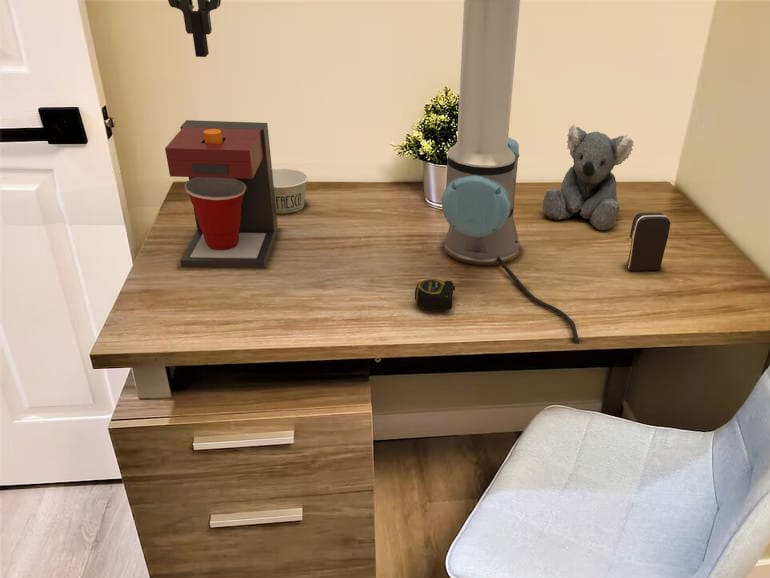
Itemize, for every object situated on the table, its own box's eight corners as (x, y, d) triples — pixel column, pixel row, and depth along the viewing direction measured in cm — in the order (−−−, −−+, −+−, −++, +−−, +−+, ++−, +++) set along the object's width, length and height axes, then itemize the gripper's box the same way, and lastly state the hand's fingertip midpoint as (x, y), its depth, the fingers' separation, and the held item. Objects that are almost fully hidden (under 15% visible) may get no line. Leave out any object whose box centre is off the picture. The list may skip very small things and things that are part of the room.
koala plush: (537, 218, 165) (546, 131, 155) (561, 194, 180) (571, 112, 169) (612, 234, 160) (627, 145, 150) (630, 208, 174) (645, 125, 164)
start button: (221, 148, 129) (219, 134, 128) (203, 147, 129) (201, 133, 127) (224, 143, 131) (222, 129, 130) (207, 142, 131) (205, 128, 130)
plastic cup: (240, 259, 136) (232, 197, 130) (184, 253, 137) (173, 191, 130) (261, 236, 145) (254, 177, 139) (208, 230, 146) (199, 171, 139)
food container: (290, 191, 170) (288, 164, 167) (321, 207, 164) (319, 179, 160) (244, 203, 163) (240, 175, 159) (274, 220, 156) (271, 190, 153)
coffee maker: (264, 268, 137) (251, 152, 125) (181, 267, 136) (160, 149, 124) (278, 229, 152) (267, 122, 140) (203, 228, 151) (186, 120, 139)
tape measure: (451, 316, 127) (452, 297, 125) (412, 313, 127) (412, 294, 125) (454, 297, 132) (455, 278, 130) (417, 294, 132) (417, 275, 130)
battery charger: (654, 262, 150) (665, 209, 143) (661, 271, 146) (673, 217, 140) (622, 263, 148) (631, 210, 142) (628, 272, 145) (638, 217, 139)
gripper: (228, -112, 113) (246, 52, 126) (140, -117, 111) (167, 49, 124) (218, -111, 106) (238, 61, 119) (124, -117, 105) (155, 58, 118)
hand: (202, 55), depth 122 cm, fingers closed
